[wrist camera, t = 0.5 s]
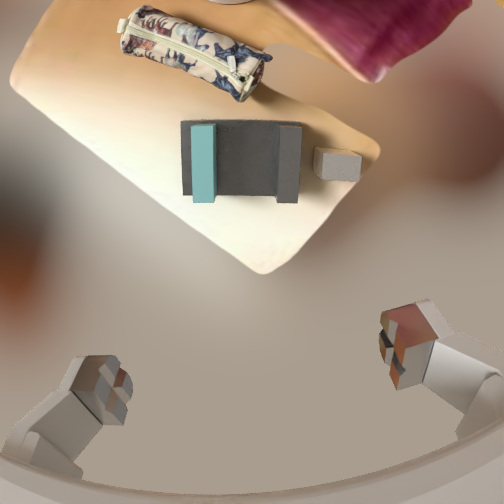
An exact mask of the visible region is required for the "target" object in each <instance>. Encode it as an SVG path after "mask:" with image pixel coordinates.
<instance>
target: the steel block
mask: <svg viewBox="0 0 504 504" xmlns="http://www.w3.org/2000/svg"><path fill="white" fill-rule="evenodd" d="M361 162H362V156H360V155H358V154H356V153H354V152H352V151H350V150H344V149H333V148H321V147H315V151H314V165H313V171H314V172H315V173H316V174H317V175H318V176H319V177H320V179H322V180H338V181H352V182H359V179H360V171H361Z"/></svg>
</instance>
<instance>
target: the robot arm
mask: <svg viewBox="0 0 504 504" xmlns="http://www.w3.org/2000/svg"><path fill="white" fill-rule="evenodd" d="M209 1H211V2H215V3H220V4H238V3H244V2H248V1H251V0H209ZM380 323H381V325H382V326H383V329H382V331H381V332H380V333H379V346H380V352H381V355H382V358H383V360H384V363H386V364H387V365H389V366H391V367H390V377H391V379H392V381H393V384H394V386H395V388H396V390H400V389H404V388H407V387H411V386H414V385H417V384H420V383H423V385H425V386H426V387H427V388H429V389H430V390H431V391H433V392H434V393H436V394H437V395H438V396H440V397H441V398H442V399H444V400H445V401H447V402H448V403H449V404H451V405H452V406H454V407H455V408H456V409H458V410H459V411H461V412H462V413H464V414H465V415H464V417H463V419H462V420H461V422H460V424H459V425H458V427H457V429H456V431H455V432H456V435H457V437H458V441H456V442H454V443H451V444H449V445H447V446H445V447H442V448H440V449H438V450H435V451H433V452H430V453H428V454H425V455H423V456H421V457H418V458H415V459H412V460H410V461H407V462H404V463H401V464H398V465H395V466H392V467H389V468H386V469H383V470H379V471H376V472H372V473H369V474H365V475H361V476H357V477H353V478H349V479H345V480H341V481H336V482H331V483H326V484H321V485H316V486H310V487H304V488H297V489H290V490H282V491H273V492H263V493H250V494H228V495H196V494H174V493H162V492H151V491H143V490H134V489H128V488H121V487H115V486H109V485H104V484H100V483H94V482H90V481H85V480H81V479H82V476H83V470H82V469H81V468H80V467H79V466H77V465H76V464H75V463H73V462H74V460H75V459H76V458H77V457H78V456H79V454H80V453H81V452H82V451H83V450H84V448H85V447H86V446H87V445H88V444H89V442H90V441H91V440H92V439H93V437H94V436H95V435H96V434H97V433H98V431H99V430H100V429H101V428H102V426H103V425H121V426H123V425H124V421H125V418H126V414H127V411H128V409H127V407H126V403H127V402H128V401H129V400H130V399H131V397H132V393H133V384H132V381H131V378H130V376H129V375H128V373H127V372H126V371H124V370H123V369H121V368H120V361H119V360H118V359H117V357H116V356H114V355H88V356H76V357H75V358H74V359H73V361H72V362H71V364H70V366H69V368H68V370H67V372H66V375H65V376H64V378H63V380H62V382H61V384H60V386H59V389H58V391H57V390H55V391H53V392H52V393H51V394H50V395H48V396H47V397H46V398H45V399H44V400H42V401H41V402H40V403H39V404H38V405H37V406H35V407H34V408H33V409H32V410H31V411H29V412H28V413H27V414H26V415H25V416H23V417H22V418H21V419H20V420H19V421H18V422H16V423H15V424H14V425H13V426H12V429H11V431H10V433H9V435H8V438H7V440H6V442H5V445H4V447H3V450H2V452H1V453H0V504H504V351H502V350H499V349H497V348H495V347H493V346H491V345H488V344H486V343H484V342H481V341H479V340H477V339H475V338H473V337H470V336H468V335H466V334H464V333H462V332H456V333H455V332H454V331H453V329H452V328H451V326H450V325H449V324H448V322H447V321H446V320H445V318H444V317H443V316H442V314H441V313H440V312H439V310H438V309H437V308H436V306H435V305H434V304H433V302H432V301H431V300H430V299H424V300H421V301H417V302H414V303H412V304H408V305H405V306H401V307H397V308H394V309H390V310H386V311H383V312H382V314H381V319H380Z"/></svg>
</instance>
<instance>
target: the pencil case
mask: <svg viewBox="0 0 504 504" xmlns="http://www.w3.org/2000/svg"><path fill="white" fill-rule="evenodd" d="M117 33H122V35H121V40H120V47H121V50H122V52H123V53H124V54H125V55H129V56H135V57H146V58H148V59H150V60H153V61H156V62H159V63H163V64H165V65H168V66H171V67H174V68H179V69H183V70H184V71H186V72H188V73H189V74H190V75H192V76H194V77H198V78H201V79H203V80H205V81H207V82H209V83H211V84H213V85H214V86H216V87H218V88H219V89H222V90H225V91H227V92H229V93H231V95H232V96H233V97H234V99H235V100H236V101H237V102H244V101H245V100H246V99H247V98H248V97H249V95H250V94H251V92H252V91H253V90H254V89H255V88H256V87H257V85H258V84H259V82H260V80H261V78H262V76H263V70H264V61H265V62H269V61H270V60H272V59H273V57H272V56H271V55H269V54H265V52H262V51H259V50H257V49H255V48H252V47H249V46H247V45H246V44H244V43H241V42H238V41H235V40H234V39H232V38H230V37H228V36H225V35H222V34H219V33H217V32H214V31H211V30H209V29H206V28H202V27H200V26H197V25H194V24H192V23H188V22H186V21H185V20H182V19H180V18H176V17H173V16H171V15H169V14H167V13H165V12H163V11H161V10H158V9H155V8H153V7H152V6H150V5H143V6H140V7H138V8H137V9H135V10H134V11H133V12H132V13H131V14H130V16H129V17H128V19H120V21H119V24H118V27H117Z"/></svg>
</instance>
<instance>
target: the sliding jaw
mask: <svg viewBox="0 0 504 504" xmlns="http://www.w3.org/2000/svg"><path fill="white" fill-rule="evenodd" d="M191 159H192V190H193V203H214V200H215V197H216V194H217V162H216V123H214V124H195V125H193V126H191Z"/></svg>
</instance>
